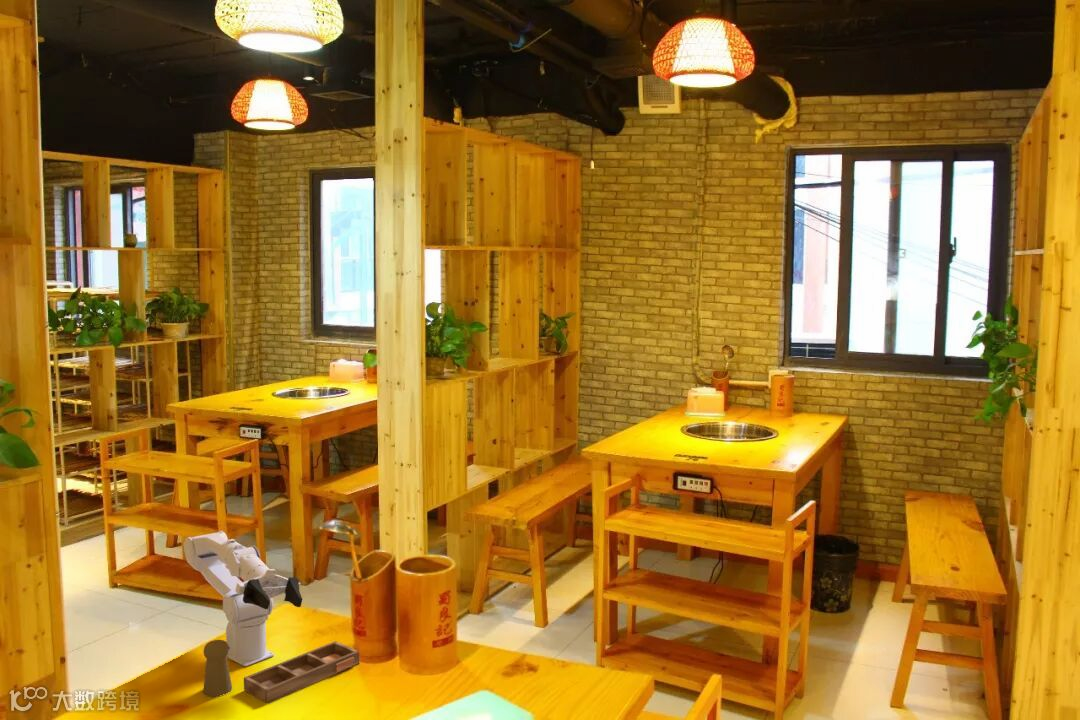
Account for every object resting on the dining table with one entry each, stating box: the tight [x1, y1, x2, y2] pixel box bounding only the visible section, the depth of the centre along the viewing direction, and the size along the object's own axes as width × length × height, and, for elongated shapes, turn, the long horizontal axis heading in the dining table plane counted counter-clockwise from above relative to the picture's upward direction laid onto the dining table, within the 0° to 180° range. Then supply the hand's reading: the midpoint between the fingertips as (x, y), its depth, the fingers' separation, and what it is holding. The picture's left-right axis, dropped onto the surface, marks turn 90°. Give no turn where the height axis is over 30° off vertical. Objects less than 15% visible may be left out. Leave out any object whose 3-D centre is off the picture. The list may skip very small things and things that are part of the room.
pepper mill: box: [202, 639, 233, 698], centre depth 197 cm, size 6×6×11 cm
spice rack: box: [243, 641, 360, 704], centre depth 204 cm, size 9×25×3 cm, turn 141°
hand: (284, 603), depth 197 cm, fingers open, 7 cm apart
